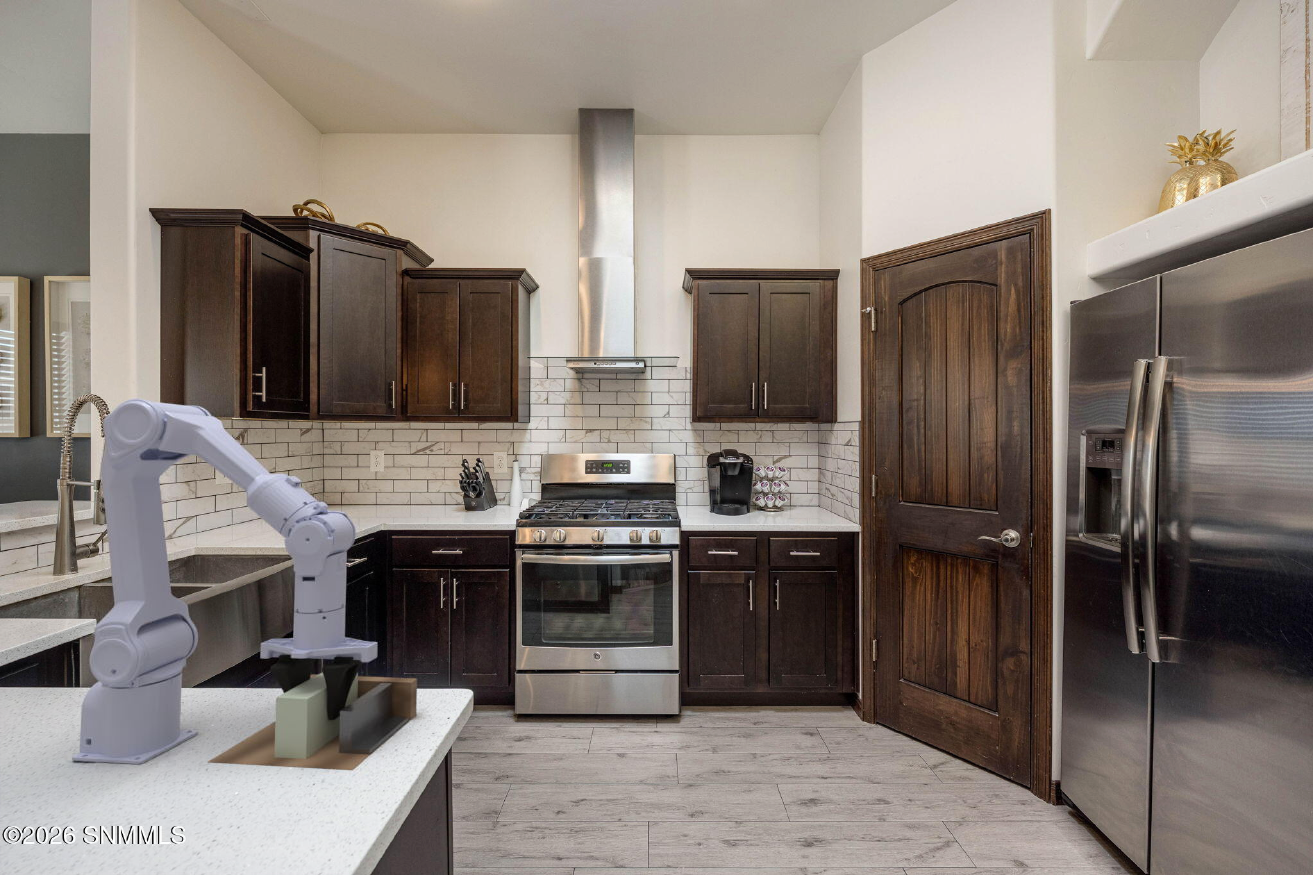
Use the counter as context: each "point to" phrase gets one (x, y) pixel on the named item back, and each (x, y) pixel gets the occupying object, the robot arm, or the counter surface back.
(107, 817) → the counter surface
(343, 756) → the wooden display base
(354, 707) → the bookend
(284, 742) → the pale green rectangular block
